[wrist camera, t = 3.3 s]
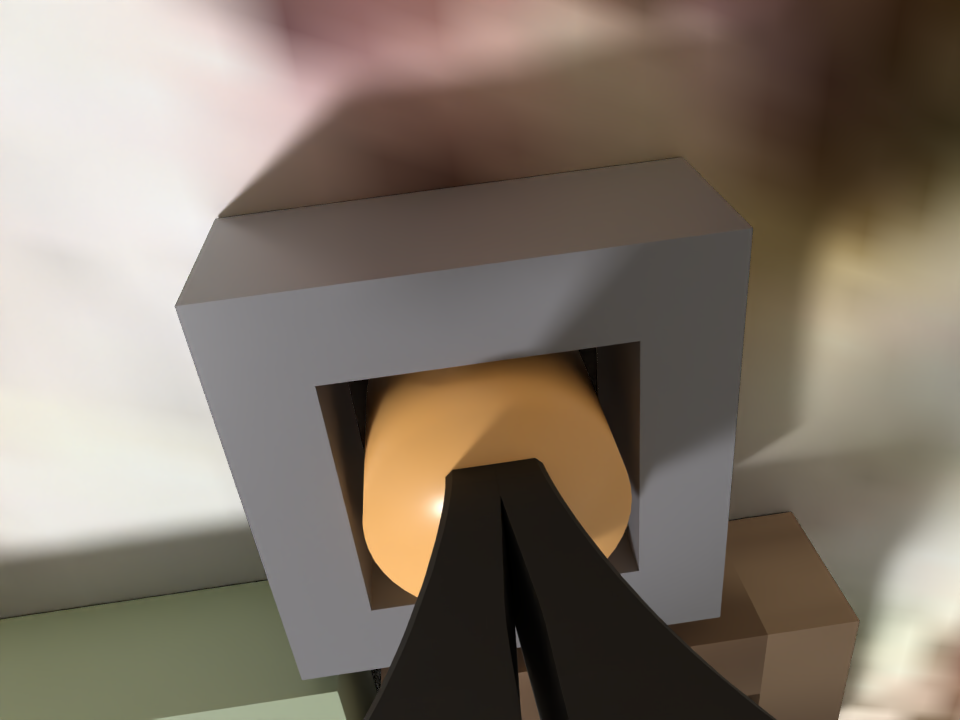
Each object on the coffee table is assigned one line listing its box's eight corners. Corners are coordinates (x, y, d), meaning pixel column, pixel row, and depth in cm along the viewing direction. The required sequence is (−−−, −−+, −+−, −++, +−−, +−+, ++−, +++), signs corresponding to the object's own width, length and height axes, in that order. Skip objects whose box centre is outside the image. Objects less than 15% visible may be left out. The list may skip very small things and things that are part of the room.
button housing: (670, 505, 17) (720, 617, 15) (313, 557, 17) (302, 680, 15) (682, 157, 13) (752, 227, 11) (215, 218, 13) (175, 306, 10)
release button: (590, 469, 16) (631, 591, 13) (385, 498, 16) (386, 627, 13) (584, 285, 14) (631, 387, 11) (347, 318, 14) (338, 428, 11)
